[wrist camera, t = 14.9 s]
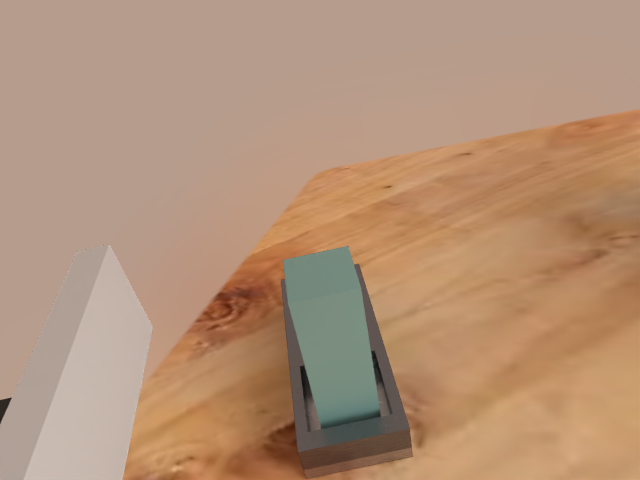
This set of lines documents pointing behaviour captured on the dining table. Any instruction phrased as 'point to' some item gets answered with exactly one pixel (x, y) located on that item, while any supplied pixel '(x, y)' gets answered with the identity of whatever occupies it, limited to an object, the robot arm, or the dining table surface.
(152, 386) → the dining table surface
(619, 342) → the dining table surface
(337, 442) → the compartment tray
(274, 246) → the dining table surface
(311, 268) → the sage green upright block
